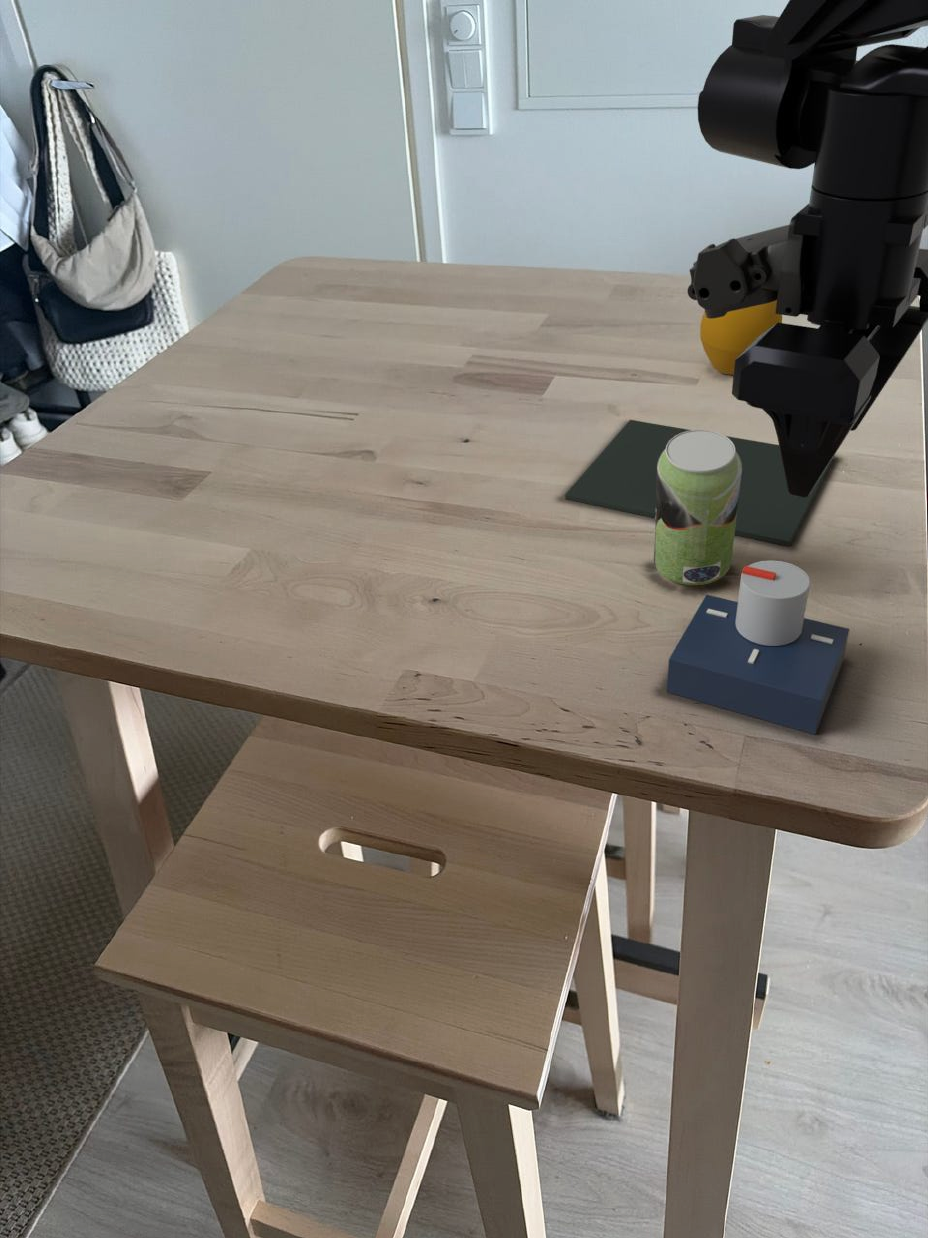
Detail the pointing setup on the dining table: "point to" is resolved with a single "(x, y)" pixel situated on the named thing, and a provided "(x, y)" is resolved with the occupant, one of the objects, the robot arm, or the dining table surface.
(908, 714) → the dining table surface
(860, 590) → the dining table surface
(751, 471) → the drip mat
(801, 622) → the grey rotary knob
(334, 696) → the dining table surface
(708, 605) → the rotary dial base
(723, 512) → the beverage can
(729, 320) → the apple
